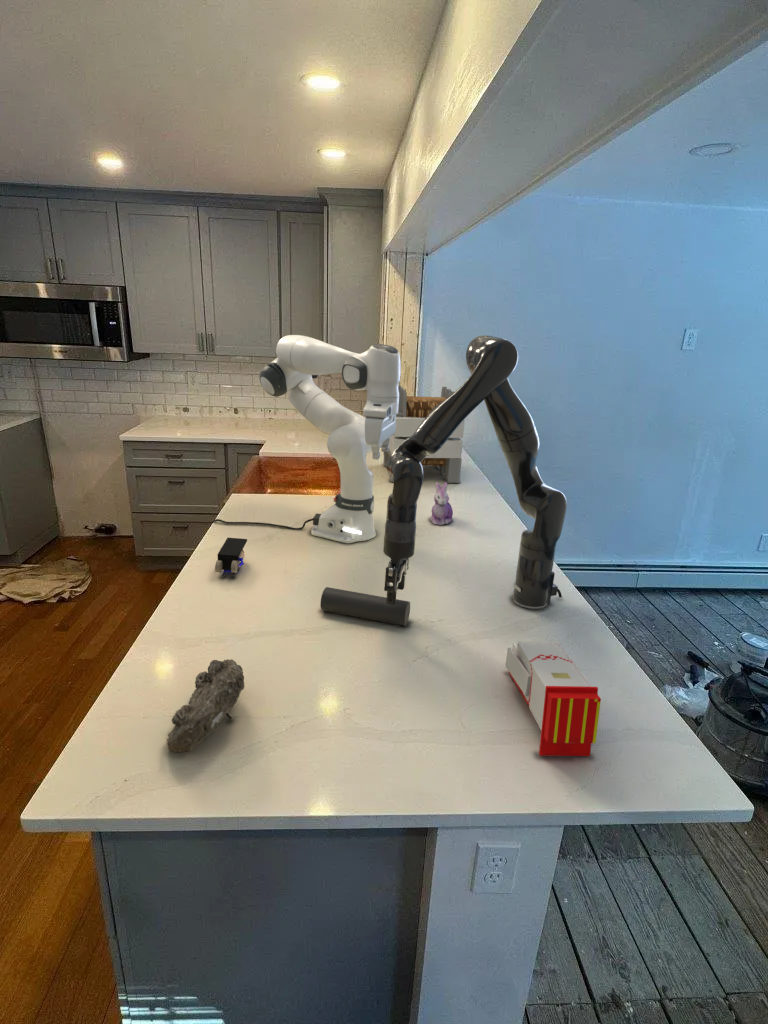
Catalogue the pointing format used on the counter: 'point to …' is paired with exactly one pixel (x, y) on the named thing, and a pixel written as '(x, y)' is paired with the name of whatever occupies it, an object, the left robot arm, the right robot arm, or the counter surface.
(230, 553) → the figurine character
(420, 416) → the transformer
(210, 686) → the fossil
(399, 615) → the rod
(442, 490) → the figurine
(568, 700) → the toy
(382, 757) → the counter surface
